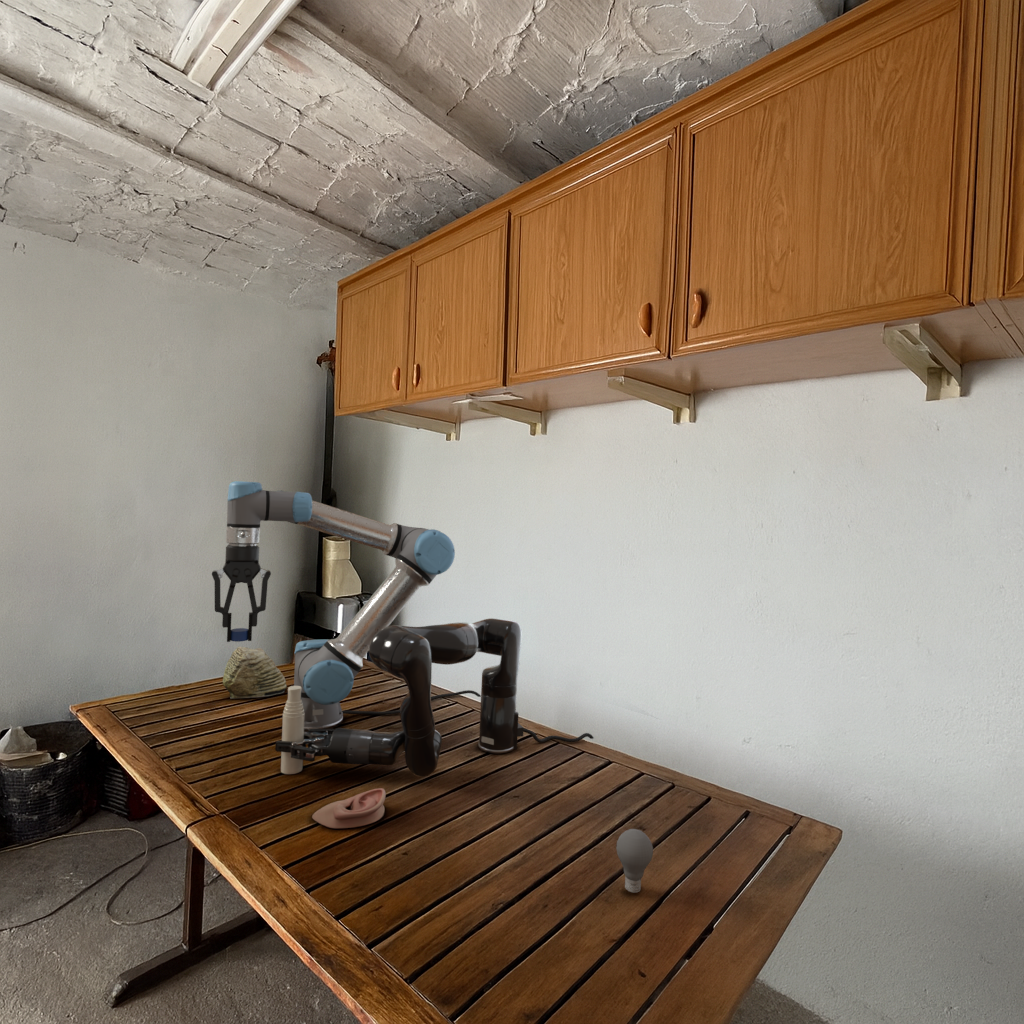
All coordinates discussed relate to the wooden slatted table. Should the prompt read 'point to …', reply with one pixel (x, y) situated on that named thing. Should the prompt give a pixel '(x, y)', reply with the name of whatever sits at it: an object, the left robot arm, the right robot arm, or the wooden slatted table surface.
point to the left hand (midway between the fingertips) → (239, 639)
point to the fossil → (252, 674)
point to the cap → (239, 634)
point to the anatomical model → (353, 810)
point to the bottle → (292, 729)
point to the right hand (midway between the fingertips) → (281, 741)
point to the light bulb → (634, 857)
